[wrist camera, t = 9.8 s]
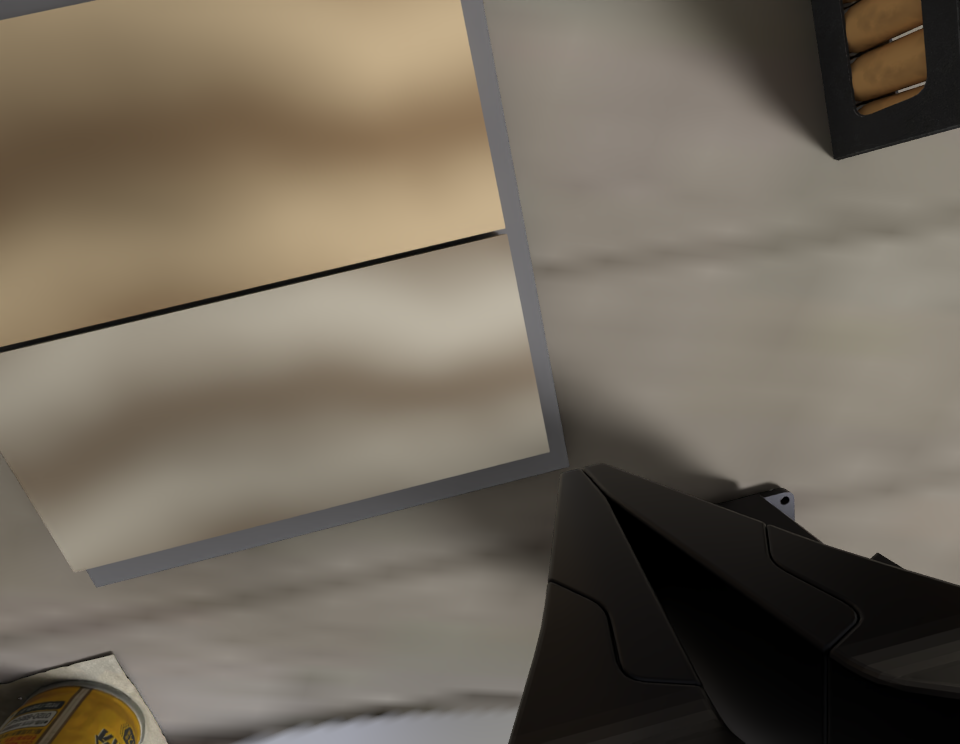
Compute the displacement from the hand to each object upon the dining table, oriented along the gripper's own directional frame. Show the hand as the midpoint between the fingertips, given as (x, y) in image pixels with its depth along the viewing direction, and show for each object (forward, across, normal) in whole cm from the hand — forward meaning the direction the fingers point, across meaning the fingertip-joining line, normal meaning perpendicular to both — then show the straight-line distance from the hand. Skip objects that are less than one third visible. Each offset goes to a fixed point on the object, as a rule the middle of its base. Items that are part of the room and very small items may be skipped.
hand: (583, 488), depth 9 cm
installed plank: (+11, +9, -10) cm, 17 cm away
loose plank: (+11, +9, 0) cm, 14 cm away
